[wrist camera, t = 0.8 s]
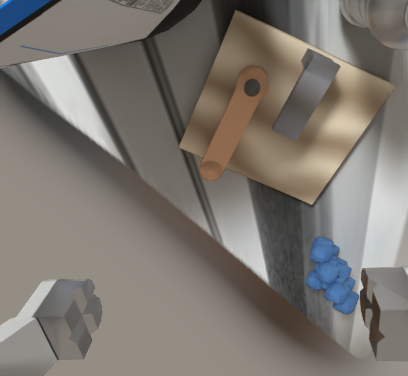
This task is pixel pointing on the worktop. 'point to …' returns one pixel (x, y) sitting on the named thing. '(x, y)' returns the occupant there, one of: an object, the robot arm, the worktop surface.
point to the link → (232, 123)
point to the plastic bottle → (380, 19)
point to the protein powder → (81, 25)
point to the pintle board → (282, 77)
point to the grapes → (332, 276)
